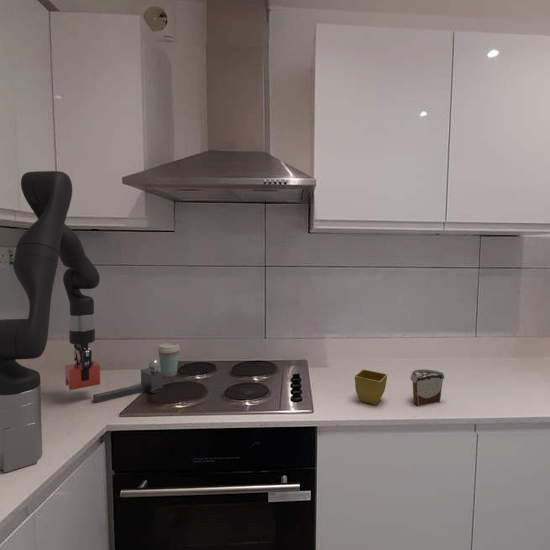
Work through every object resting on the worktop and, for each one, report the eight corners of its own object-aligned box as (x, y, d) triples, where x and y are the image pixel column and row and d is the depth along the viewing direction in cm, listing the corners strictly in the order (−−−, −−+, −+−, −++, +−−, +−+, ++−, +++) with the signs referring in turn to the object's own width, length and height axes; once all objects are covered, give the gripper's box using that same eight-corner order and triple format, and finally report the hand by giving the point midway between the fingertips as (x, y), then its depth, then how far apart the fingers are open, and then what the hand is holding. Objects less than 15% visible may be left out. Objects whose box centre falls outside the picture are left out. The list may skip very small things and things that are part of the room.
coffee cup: (184, 374, 144) (184, 345, 143) (165, 380, 138) (165, 349, 137) (172, 369, 150) (172, 341, 149) (153, 374, 143) (153, 345, 142)
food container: (429, 395, 126) (430, 367, 126) (443, 402, 120) (444, 372, 120) (401, 399, 122) (402, 371, 121) (414, 407, 116) (415, 377, 115)
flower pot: (387, 399, 122) (387, 373, 121) (379, 408, 114) (380, 381, 114) (361, 393, 126) (362, 369, 126) (353, 402, 119) (354, 376, 119)
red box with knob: (100, 384, 119) (99, 362, 119) (69, 390, 114) (69, 367, 113) (95, 379, 124) (94, 358, 124) (65, 384, 119) (65, 363, 118)
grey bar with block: (165, 390, 127) (165, 361, 126) (98, 407, 113) (97, 374, 112) (154, 382, 135) (154, 354, 134) (90, 397, 120) (89, 366, 120)
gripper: (65, 326, 121) (65, 374, 122) (74, 332, 110) (74, 386, 111) (89, 323, 126) (89, 370, 127) (100, 329, 115) (100, 381, 116)
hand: (82, 377), depth 119 cm, fingers closed on red box with knob, 6 cm apart
